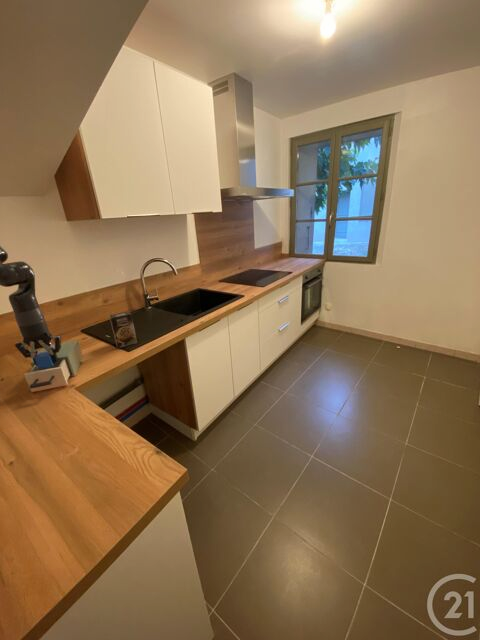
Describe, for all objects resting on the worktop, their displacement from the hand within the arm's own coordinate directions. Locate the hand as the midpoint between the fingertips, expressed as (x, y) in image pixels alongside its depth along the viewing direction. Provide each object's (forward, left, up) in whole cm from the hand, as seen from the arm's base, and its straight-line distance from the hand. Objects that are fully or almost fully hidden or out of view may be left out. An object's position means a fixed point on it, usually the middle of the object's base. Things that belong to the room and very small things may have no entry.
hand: (47, 364), depth 96 cm
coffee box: (+24, +24, -9) cm, 35 cm away
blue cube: (0, 0, 0) cm, 0 cm away
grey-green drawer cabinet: (0, +10, -8) cm, 13 cm away
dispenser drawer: (0, 0, -8) cm, 8 cm away
